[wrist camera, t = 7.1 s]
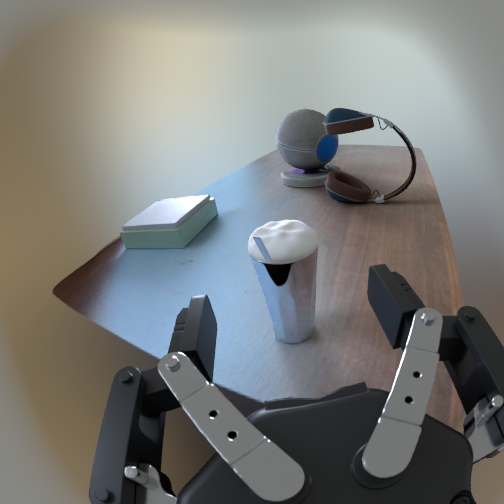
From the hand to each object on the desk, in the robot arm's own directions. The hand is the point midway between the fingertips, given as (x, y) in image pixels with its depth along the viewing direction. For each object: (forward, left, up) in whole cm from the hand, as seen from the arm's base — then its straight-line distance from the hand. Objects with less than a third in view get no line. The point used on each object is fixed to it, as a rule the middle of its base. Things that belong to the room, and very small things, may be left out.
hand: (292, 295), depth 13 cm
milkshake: (-2, +5, -8) cm, 10 cm away
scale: (-26, +24, -8) cm, 36 cm away
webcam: (-6, +48, -8) cm, 49 cm away
